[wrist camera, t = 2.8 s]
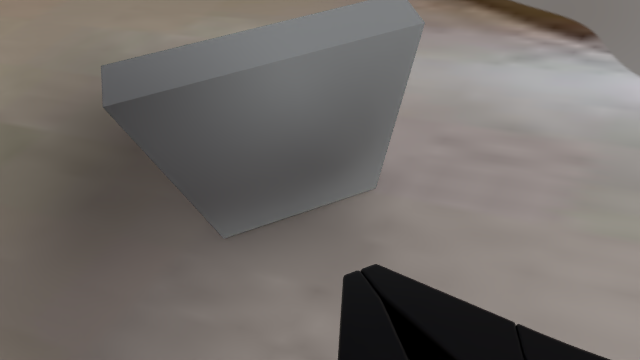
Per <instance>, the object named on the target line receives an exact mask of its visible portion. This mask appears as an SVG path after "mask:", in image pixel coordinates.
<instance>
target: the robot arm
mask: <svg viewBox="0 0 640 360" xmlns="http://www.w3.org/2000/svg"><path fill="white" fill-rule="evenodd" d="M338 360H610V359H607V358H604V357H602V356H599V355H596V354H593V353H590V352H588V351H585V350H582V349H579V348H576V347H574V346H571V345H569V344H566V343H564V342H561V341H559V340H556V339H554V338H551V337H549V336H546V335H544V334H541V333H539V332H537V331H534V330H532V329H530V328H527V327H525V326H522V325H520V324H517V325H515V323H514V322H513V321H510V320H508V319H505V318H503V317H501V316H498V315H496V314H494V313H491V312H489V311H487V310H484V309H482V308H479V307H477V306H475V305H472V304H470V303H468V302H465V301H463V300H461V299H458V298H456V297H453V296H451V295H449V294H446V293H444V292H442V291H439V290H437V289H435V288H432V287H430V286H427V285H425V284H423V283H420V282H418V281H416V280H413V279H411V278H409V277H406V276H404V275H401V274H399V273H397V272H394V271H392V270H390V269H387V268H385V267H383V266H380V265H377V264H374V265H371V266H369V267H366V268H363V269H362V270H361V272H360V271H355V272H352V273H349V274H346V275H344V277H343V289H342V304H341V319H340V335H339V350H338Z"/></svg>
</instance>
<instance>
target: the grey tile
mask: <svg viewBox="0 0 640 360" xmlns="http://www.w3.org/2000/svg"><path fill="white" fill-rule="evenodd" d="M424 24H425V22H424V21H423V20H422V18H421V17H420V16H419V15H418V13H417V12H416V11H415V9H414V8H413V7H412V5H411V4H410V3H409V2H408V0H368V1H364V2H360V3H356V4H352V5H348V6H344V7H340V8H336V9H332V10H328V11H323V12H319V13H315V14H311V15H307V16H303V17H299V18H295V19H291V20H287V21H283V22H278V23H274V24H270V25H266V26H262V27H258V28H254V29H250V30H246V31H242V32H238V33H234V34H229V35H225V36H221V37H217V38H213V39H209V40H205V41H201V42H197V43H193V44H189V45H184V46H180V47H176V48H172V49H168V50H164V51H160V52H156V53H152V54H148V55H144V56H139V57H135V58H131V59H127V60H123V61H119V62H115V63H111V64H107V65H103V66H101V76H102V99H103V108H104V109H105V110H106V111H107V112H108V113H109V114H110V115H111V116H112V117H113V119H114V120H115V121H116V122H117V123H118V124H119V125H120V126H121V127H122V128H123V129H124V131H125V132H126V133H127V134H128V135H129V136H130V137H131V138H132V139H133V140H134V141H135V142H136V144H137V145H138V146H139V147H140V148H141V149H142V150H143V151H144V152H145V153H146V154H147V156H148V157H149V158H150V159H151V160H152V161H153V162H154V163H155V164H156V165H157V166H158V167H159V169H160V170H161V171H162V172H163V173H164V174H165V175H166V176H167V177H168V178H169V179H170V181H171V182H172V183H173V184H174V185H175V186H176V187H177V188H178V189H179V190H180V191H181V192H182V194H183V195H184V196H185V197H186V198H187V199H188V200H189V201H190V202H191V203H192V204H193V206H194V207H195V208H196V209H197V210H198V211H199V212H200V213H201V214H202V215H203V216H204V218H205V219H206V220H207V221H208V222H209V223H210V224H211V225H212V226H213V227H214V228H215V229H216V231H217V232H218V233H219V234H220V235H221V236H222V237H223V238H227V237H230V236H233V235H236V234H239V233H242V232H245V231H248V230H251V229H254V228H257V227H260V226H263V225H266V224H270V223H273V222H276V221H279V220H282V219H285V218H288V217H291V216H294V215H297V214H300V213H303V212H306V211H309V210H312V209H315V208H318V207H321V206H324V205H327V204H330V203H333V202H336V201H339V200H342V199H345V198H348V197H351V196H354V195H357V194H360V193H363V192H366V191H369V190H372V189H375V188H376V186H377V182H378V179H379V176H380V172H381V169H382V166H383V162H384V159H385V155H386V152H387V149H388V145H389V142H390V139H391V135H392V132H393V128H394V125H395V122H396V118H397V115H398V112H399V108H400V105H401V102H402V98H403V95H404V91H405V88H406V85H407V81H408V78H409V75H410V71H411V68H412V64H413V61H414V58H415V54H416V51H417V48H418V44H419V41H420V38H421V34H422V31H423V27H424Z"/></svg>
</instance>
